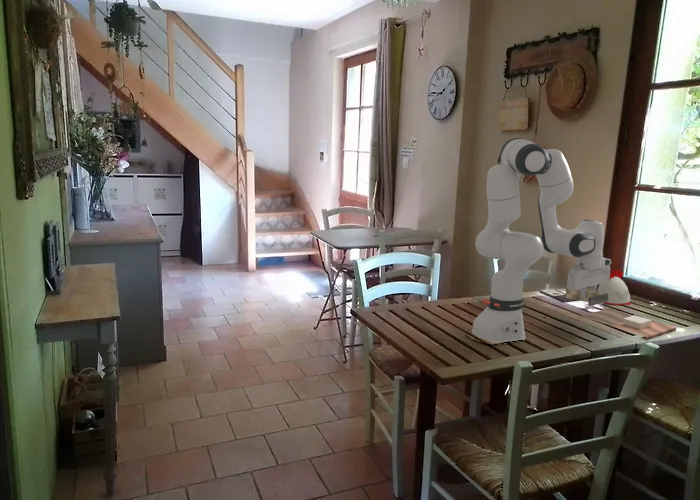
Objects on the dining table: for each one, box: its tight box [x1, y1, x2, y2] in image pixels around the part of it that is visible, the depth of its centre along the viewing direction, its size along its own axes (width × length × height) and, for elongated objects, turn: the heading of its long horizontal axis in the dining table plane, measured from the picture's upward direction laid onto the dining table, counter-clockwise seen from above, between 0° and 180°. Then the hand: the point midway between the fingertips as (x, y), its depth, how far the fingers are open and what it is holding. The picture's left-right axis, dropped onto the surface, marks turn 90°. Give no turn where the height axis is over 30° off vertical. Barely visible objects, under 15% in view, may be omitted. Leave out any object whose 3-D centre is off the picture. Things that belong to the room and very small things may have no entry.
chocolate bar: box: [538, 289, 580, 303], centre depth 242 cm, size 9×1×18 cm
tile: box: [623, 315, 653, 329], centre depth 199 cm, size 7×7×2 cm
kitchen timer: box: [596, 268, 631, 306], centre depth 230 cm, size 14×14×15 cm
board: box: [580, 308, 677, 340], centre depth 204 cm, size 18×28×1 cm, turn 29°
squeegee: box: [565, 287, 608, 307], centre depth 202 cm, size 14×10×4 cm
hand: (587, 297), depth 200 cm, fingers closed on squeegee, 2 cm apart
